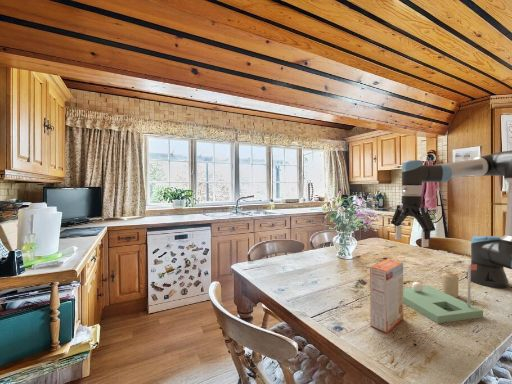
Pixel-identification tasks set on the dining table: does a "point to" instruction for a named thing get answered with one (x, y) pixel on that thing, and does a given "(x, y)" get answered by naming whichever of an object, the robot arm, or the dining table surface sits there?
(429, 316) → the green
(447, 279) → the candle
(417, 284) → the ball
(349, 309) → the dining table surface
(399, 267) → the cracker box
